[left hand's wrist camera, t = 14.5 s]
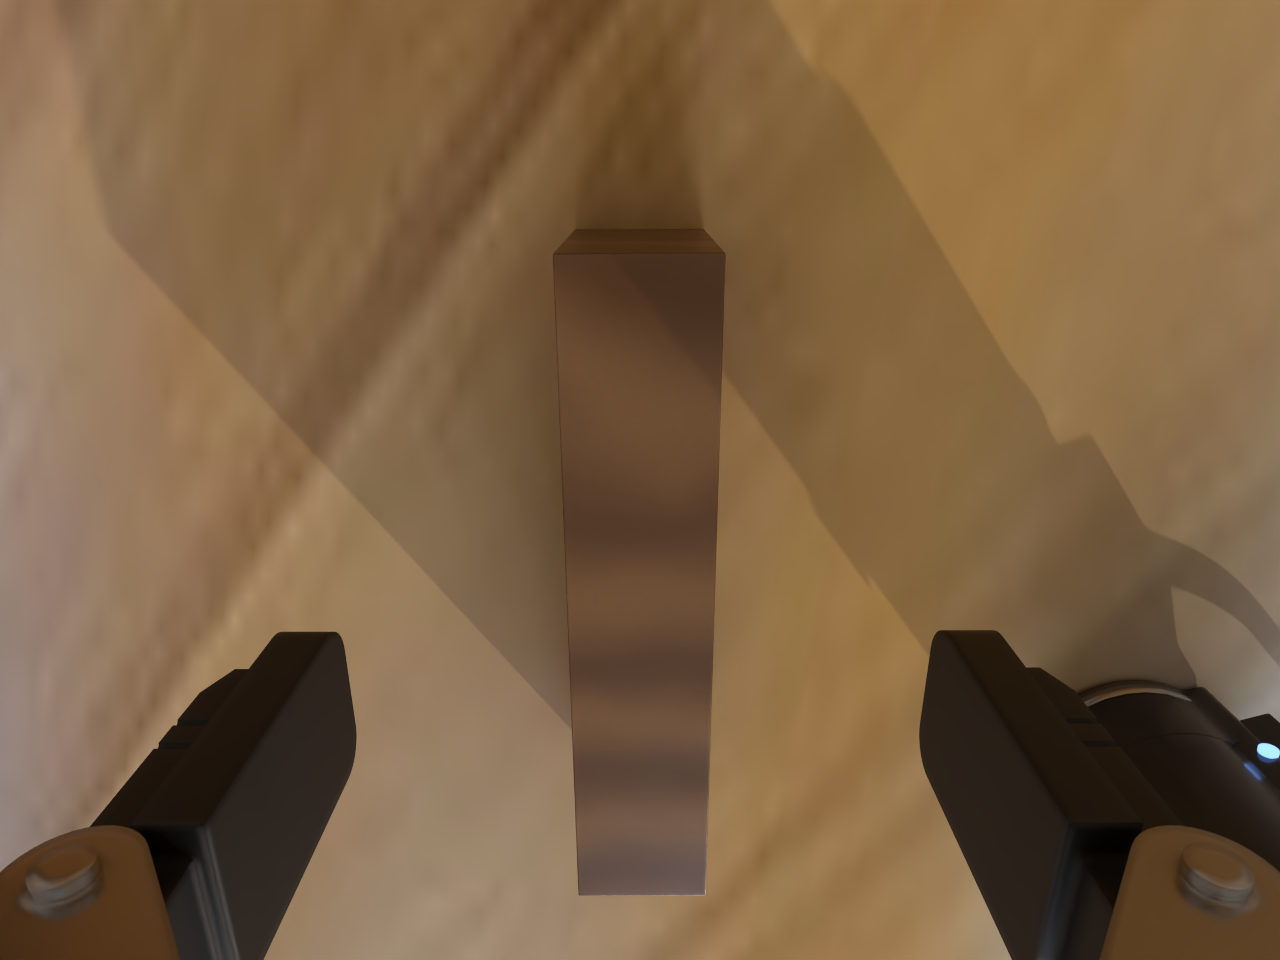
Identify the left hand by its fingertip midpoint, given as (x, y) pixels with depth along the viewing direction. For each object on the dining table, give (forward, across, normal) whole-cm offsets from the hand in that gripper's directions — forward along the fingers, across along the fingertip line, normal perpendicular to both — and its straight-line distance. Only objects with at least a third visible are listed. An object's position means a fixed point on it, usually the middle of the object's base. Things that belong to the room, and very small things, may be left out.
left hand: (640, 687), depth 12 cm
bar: (+25, 0, -9) cm, 26 cm away
